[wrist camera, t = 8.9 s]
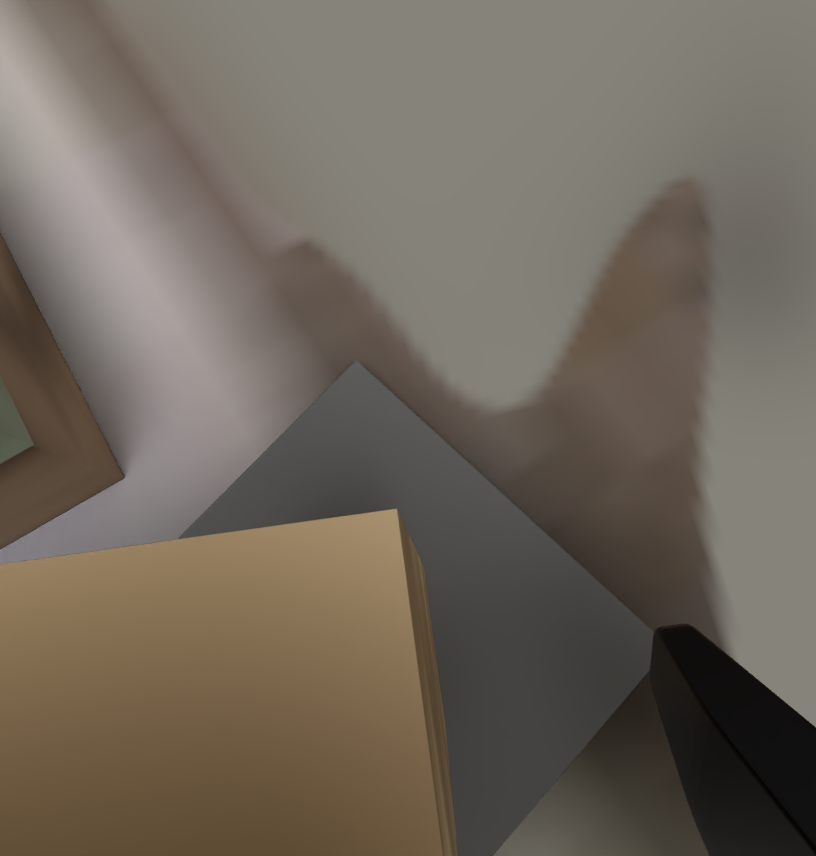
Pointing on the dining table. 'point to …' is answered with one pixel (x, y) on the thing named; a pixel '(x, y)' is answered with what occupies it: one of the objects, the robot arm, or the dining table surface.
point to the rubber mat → (461, 595)
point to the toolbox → (41, 419)
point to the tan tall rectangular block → (225, 698)
